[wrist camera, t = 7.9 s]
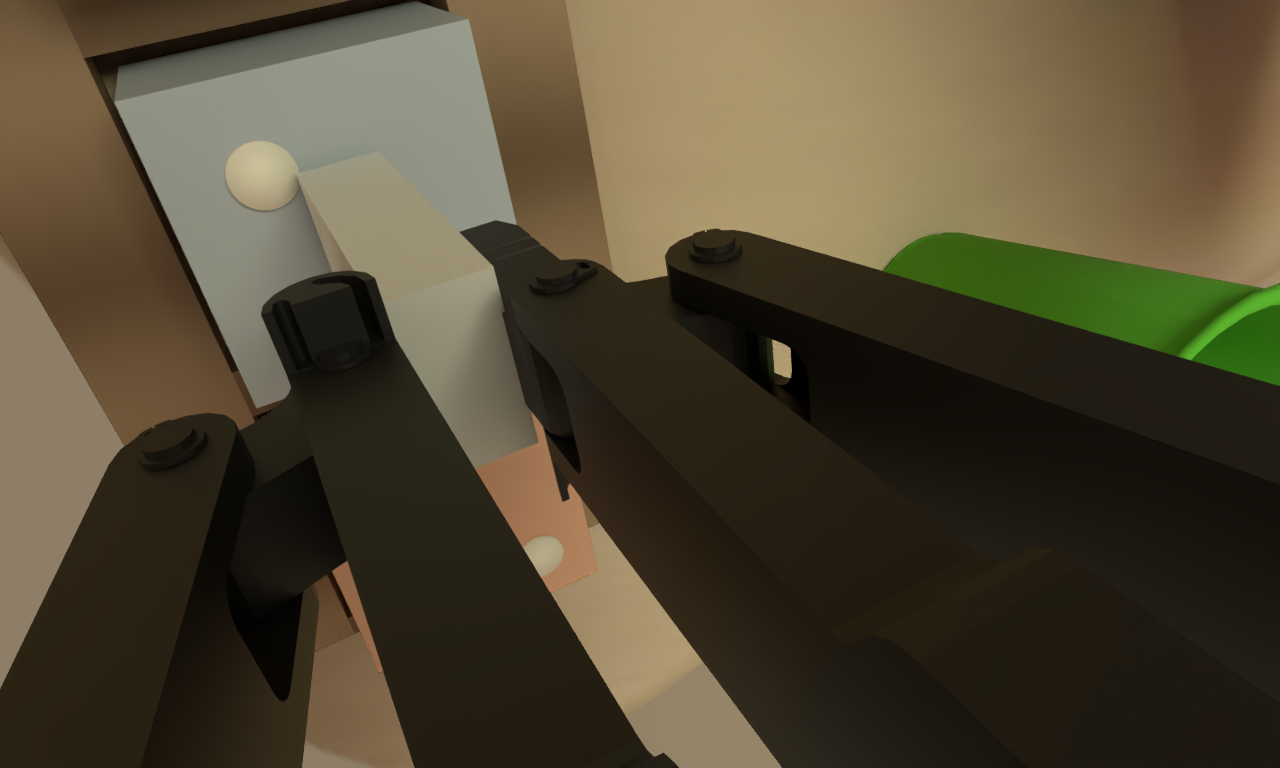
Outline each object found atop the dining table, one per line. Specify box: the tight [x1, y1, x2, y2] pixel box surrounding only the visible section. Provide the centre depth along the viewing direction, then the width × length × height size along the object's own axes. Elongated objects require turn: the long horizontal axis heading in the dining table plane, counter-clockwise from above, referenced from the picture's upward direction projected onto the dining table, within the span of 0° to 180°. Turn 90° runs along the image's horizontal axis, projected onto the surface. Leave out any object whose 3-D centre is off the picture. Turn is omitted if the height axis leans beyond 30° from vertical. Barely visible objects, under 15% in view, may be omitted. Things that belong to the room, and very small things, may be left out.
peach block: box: [272, 409, 598, 673], centre depth 22 cm, size 6×6×4 cm
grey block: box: [114, 1, 517, 408], centre depth 18 cm, size 6×6×4 cm
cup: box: [884, 233, 1280, 386], centre depth 27 cm, size 9×9×11 cm
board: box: [0, 0, 613, 652], centre depth 19 cm, size 24×12×2 cm, turn 9°
